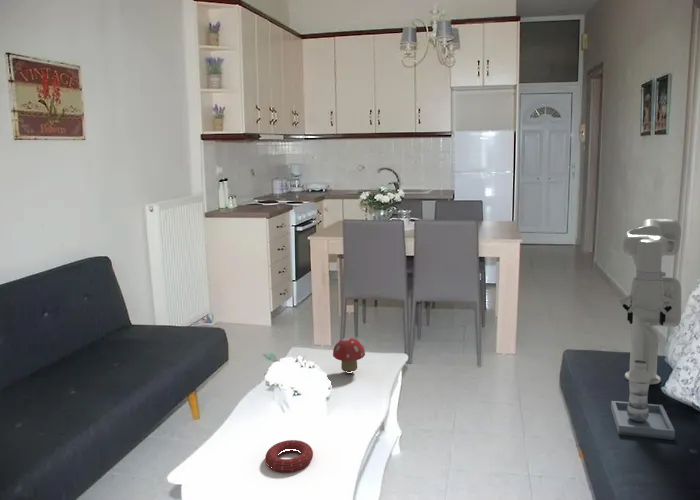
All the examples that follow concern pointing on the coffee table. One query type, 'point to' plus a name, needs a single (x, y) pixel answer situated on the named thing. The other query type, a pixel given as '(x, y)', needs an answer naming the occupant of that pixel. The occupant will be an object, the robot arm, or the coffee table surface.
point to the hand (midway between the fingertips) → (645, 323)
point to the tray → (651, 428)
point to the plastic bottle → (638, 392)
